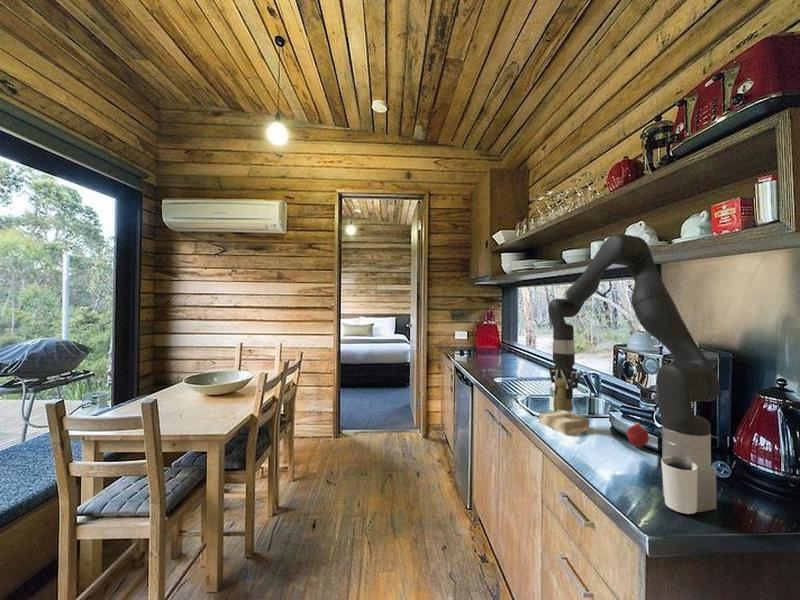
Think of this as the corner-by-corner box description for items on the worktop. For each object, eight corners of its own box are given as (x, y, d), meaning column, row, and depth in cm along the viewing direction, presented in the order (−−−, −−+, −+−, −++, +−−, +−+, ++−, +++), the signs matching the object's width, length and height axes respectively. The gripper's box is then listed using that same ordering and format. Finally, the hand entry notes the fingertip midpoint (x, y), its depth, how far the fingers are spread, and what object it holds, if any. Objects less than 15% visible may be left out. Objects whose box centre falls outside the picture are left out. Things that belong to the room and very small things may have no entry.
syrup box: (549, 412, 152) (548, 379, 152) (562, 412, 152) (562, 379, 152) (554, 416, 146) (554, 381, 146) (568, 417, 146) (568, 381, 146)
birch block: (589, 432, 129) (589, 419, 129) (564, 437, 124) (564, 423, 124) (562, 422, 140) (562, 410, 140) (539, 426, 135) (539, 413, 135)
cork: (569, 406, 135) (569, 377, 135) (575, 410, 129) (575, 380, 129) (552, 405, 135) (552, 377, 135) (558, 410, 129) (558, 380, 129)
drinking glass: (655, 501, 84) (654, 460, 83) (675, 495, 86) (673, 454, 85) (686, 518, 77) (684, 473, 77) (706, 510, 79) (704, 466, 79)
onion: (644, 452, 110) (644, 426, 110) (624, 446, 115) (624, 421, 115) (651, 448, 114) (651, 423, 114) (631, 442, 118) (631, 418, 119)
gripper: (586, 353, 126) (586, 401, 126) (558, 349, 140) (559, 392, 140) (568, 354, 124) (569, 402, 124) (542, 349, 138) (542, 393, 138)
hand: (563, 396), depth 132 cm, fingers closed on cork, 4 cm apart
